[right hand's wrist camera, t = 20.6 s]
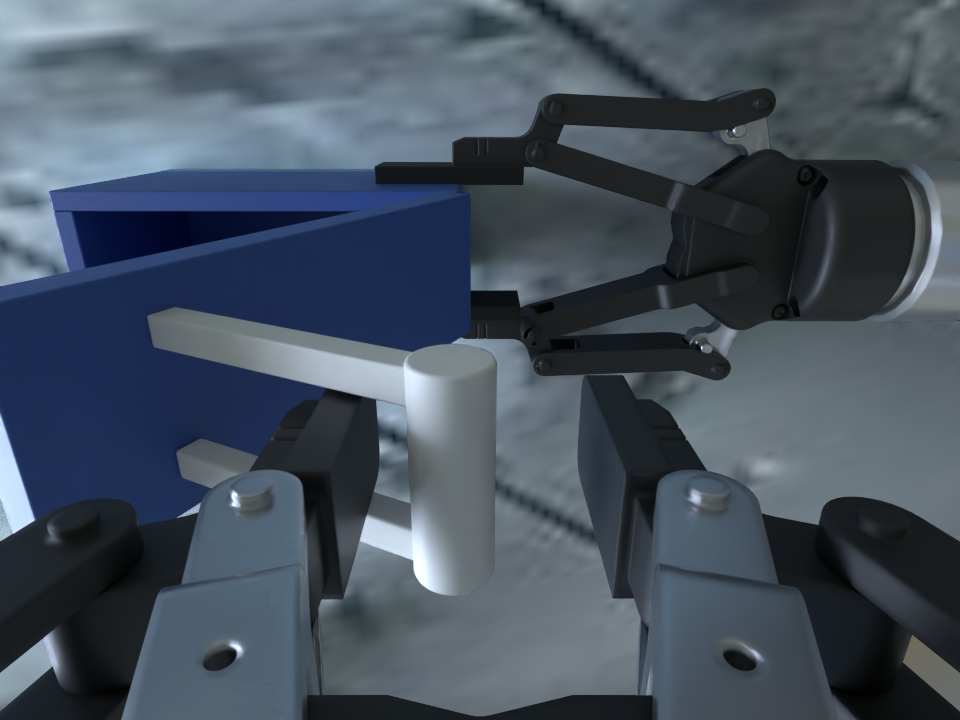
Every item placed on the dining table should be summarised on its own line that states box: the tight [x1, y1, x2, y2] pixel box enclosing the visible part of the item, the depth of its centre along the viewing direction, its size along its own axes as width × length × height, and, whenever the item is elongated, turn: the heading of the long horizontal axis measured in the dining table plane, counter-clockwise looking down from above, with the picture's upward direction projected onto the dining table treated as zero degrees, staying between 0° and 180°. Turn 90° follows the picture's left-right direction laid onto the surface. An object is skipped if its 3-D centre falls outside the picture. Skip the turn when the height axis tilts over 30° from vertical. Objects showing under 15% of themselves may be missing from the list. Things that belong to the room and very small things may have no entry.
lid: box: [0, 192, 497, 595], centre depth 16 cm, size 17×6×9 cm
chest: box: [49, 169, 465, 272], centre depth 30 cm, size 16×6×11 cm, turn 90°
